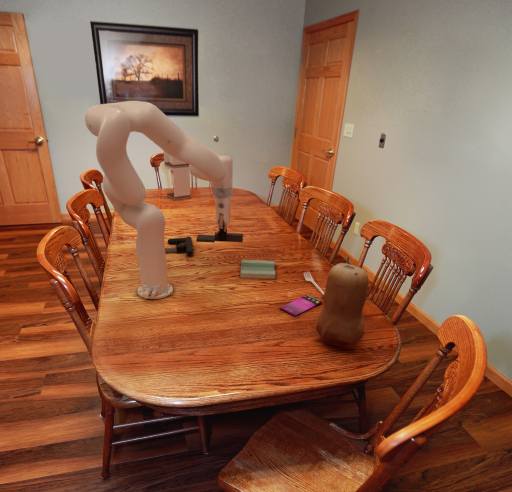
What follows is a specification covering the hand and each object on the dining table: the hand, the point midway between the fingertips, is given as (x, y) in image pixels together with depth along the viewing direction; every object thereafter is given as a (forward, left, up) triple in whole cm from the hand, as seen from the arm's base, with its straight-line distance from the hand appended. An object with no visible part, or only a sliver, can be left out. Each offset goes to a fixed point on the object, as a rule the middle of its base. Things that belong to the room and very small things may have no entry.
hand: (222, 239), depth 158 cm
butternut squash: (-52, -39, -13) cm, 66 cm away
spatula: (0, 0, 0) cm, 0 cm away
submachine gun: (+22, +23, -14) cm, 34 cm away
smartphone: (-29, -30, -13) cm, 44 cm away
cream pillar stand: (+116, +38, -13) cm, 123 cm away
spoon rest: (0, -15, -13) cm, 20 cm away
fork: (-12, -37, -13) cm, 41 cm away
